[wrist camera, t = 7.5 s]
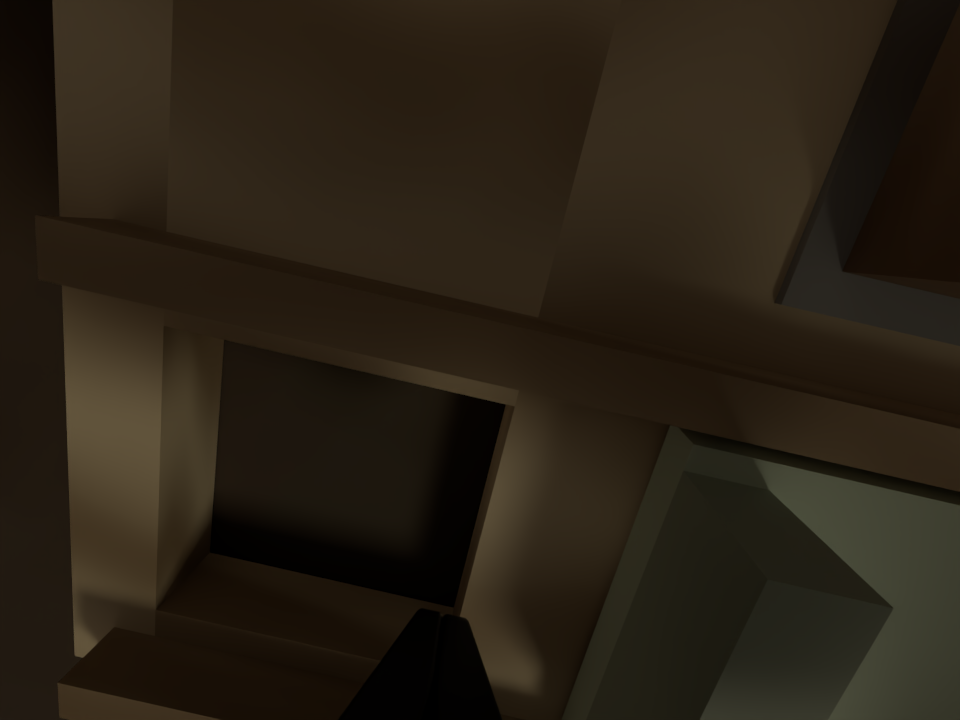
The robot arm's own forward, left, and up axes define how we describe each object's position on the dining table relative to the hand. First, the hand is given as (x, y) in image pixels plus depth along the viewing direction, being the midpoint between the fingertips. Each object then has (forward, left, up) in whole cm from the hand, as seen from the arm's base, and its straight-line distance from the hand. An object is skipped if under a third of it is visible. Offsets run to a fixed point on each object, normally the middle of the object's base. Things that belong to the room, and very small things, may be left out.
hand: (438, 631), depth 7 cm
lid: (0, -7, -2) cm, 8 cm away
